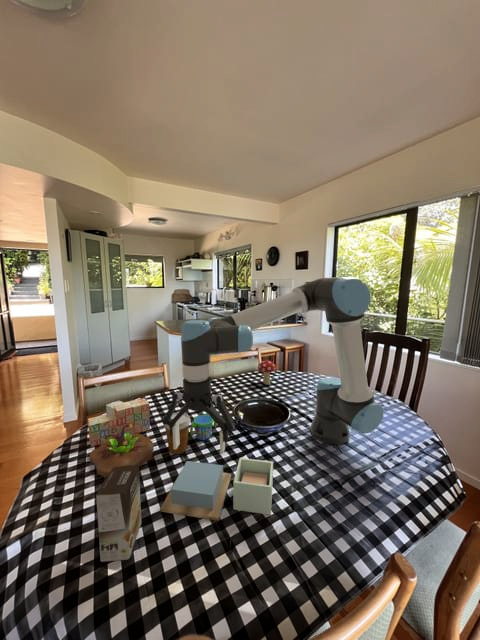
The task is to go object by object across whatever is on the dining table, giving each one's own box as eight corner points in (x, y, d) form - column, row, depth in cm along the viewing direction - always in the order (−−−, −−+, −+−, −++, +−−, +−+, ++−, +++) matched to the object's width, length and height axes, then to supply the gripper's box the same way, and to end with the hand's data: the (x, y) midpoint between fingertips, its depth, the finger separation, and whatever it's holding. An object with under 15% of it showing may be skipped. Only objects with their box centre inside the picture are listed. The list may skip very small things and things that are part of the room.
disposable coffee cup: (177, 460, 89) (176, 428, 88) (158, 451, 94) (157, 420, 93) (196, 446, 97) (195, 416, 96) (178, 438, 102) (177, 409, 101)
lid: (223, 477, 80) (222, 465, 80) (212, 509, 69) (212, 495, 68) (187, 473, 82) (186, 460, 82) (171, 503, 71) (171, 489, 70)
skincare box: (113, 424, 112) (112, 408, 111) (106, 420, 116) (105, 404, 115) (127, 419, 117) (126, 403, 116) (120, 414, 120) (119, 399, 119)
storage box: (272, 486, 78) (273, 461, 77) (270, 514, 68) (271, 487, 67) (239, 481, 80) (239, 457, 79) (233, 509, 70) (233, 482, 69)
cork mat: (231, 475, 82) (231, 473, 82) (218, 520, 67) (218, 517, 67) (183, 469, 85) (183, 467, 85) (160, 511, 69) (160, 508, 69)
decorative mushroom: (279, 385, 157) (280, 361, 155) (266, 389, 150) (266, 364, 148) (266, 380, 165) (267, 357, 163) (253, 384, 159) (254, 360, 157)
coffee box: (130, 560, 57) (126, 494, 55) (99, 562, 57) (94, 495, 54) (142, 522, 66) (139, 464, 64) (116, 524, 66) (112, 465, 63)
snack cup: (212, 428, 110) (211, 411, 109) (221, 437, 103) (221, 419, 102) (186, 436, 103) (186, 419, 102) (194, 446, 97) (193, 428, 96)
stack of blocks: (91, 449, 95) (88, 417, 94) (89, 441, 100) (87, 410, 99) (150, 431, 107) (149, 402, 106) (146, 424, 112) (145, 397, 111)
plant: (163, 457, 92) (162, 427, 90) (103, 486, 78) (100, 452, 77) (140, 433, 106) (138, 407, 104) (85, 454, 93) (83, 425, 91)
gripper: (244, 374, 73) (244, 444, 76) (160, 370, 77) (164, 437, 80) (239, 384, 65) (240, 462, 68) (147, 379, 70) (151, 452, 73)
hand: (199, 448), depth 74 cm, fingers open, 13 cm apart
